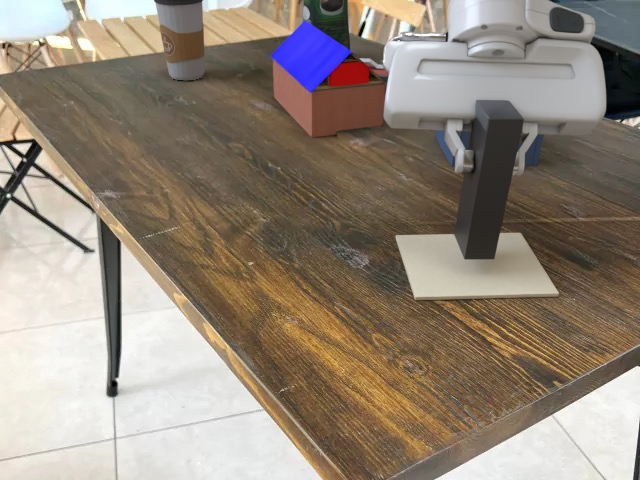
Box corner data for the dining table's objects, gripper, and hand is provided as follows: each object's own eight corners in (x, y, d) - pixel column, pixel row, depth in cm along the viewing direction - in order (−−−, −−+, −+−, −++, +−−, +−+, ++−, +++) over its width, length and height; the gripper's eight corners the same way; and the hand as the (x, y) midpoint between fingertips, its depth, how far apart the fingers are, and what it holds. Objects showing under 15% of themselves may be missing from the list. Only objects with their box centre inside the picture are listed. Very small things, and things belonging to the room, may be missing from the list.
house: (337, 90, 113) (339, 17, 106) (385, 129, 98) (391, 48, 91) (271, 96, 110) (269, 22, 103) (310, 138, 95) (310, 55, 88)
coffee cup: (155, 75, 119) (142, -16, 110) (193, 67, 123) (184, -21, 114) (180, 86, 114) (169, -8, 105) (219, 77, 118) (211, -14, 109)
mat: (520, 235, 72) (520, 232, 72) (558, 296, 62) (559, 293, 62) (395, 238, 71) (395, 235, 71) (414, 300, 62) (415, 297, 61)
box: (512, 139, 95) (520, 101, 92) (536, 169, 87) (545, 128, 83) (434, 140, 94) (439, 102, 91) (451, 170, 86) (456, 129, 83)
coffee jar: (340, 52, 133) (342, -51, 122) (354, 62, 127) (359, -45, 116) (295, 56, 130) (294, -49, 119) (308, 66, 124) (308, -43, 113)
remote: (484, 234, 68) (510, 100, 59) (496, 259, 64) (526, 119, 55) (453, 234, 67) (475, 99, 59) (463, 259, 63) (489, 118, 55)
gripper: (386, 11, 59) (378, 154, 57) (613, 18, 58) (613, 164, 56) (382, 49, 66) (375, 180, 64) (588, 56, 65) (587, 189, 63)
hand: (489, 172), depth 60 cm, fingers closed on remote, 3 cm apart
